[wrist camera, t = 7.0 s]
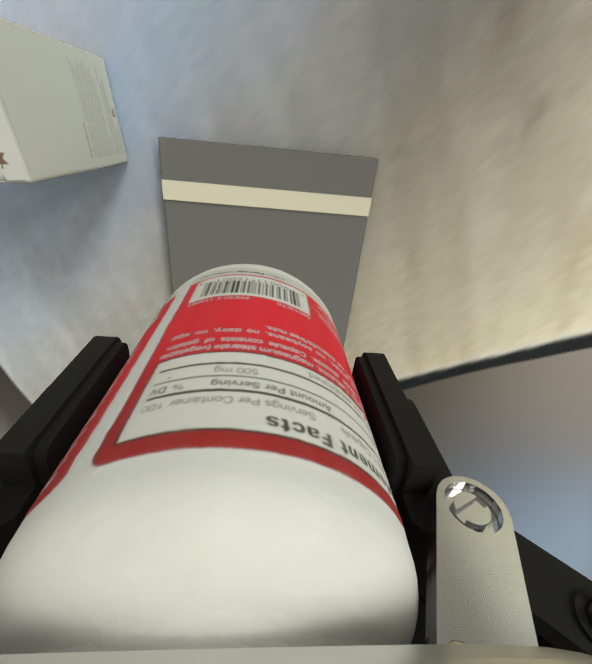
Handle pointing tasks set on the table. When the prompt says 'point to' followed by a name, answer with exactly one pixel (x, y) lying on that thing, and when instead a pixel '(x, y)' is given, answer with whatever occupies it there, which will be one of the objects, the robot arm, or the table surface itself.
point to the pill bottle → (217, 493)
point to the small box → (53, 109)
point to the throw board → (268, 214)
